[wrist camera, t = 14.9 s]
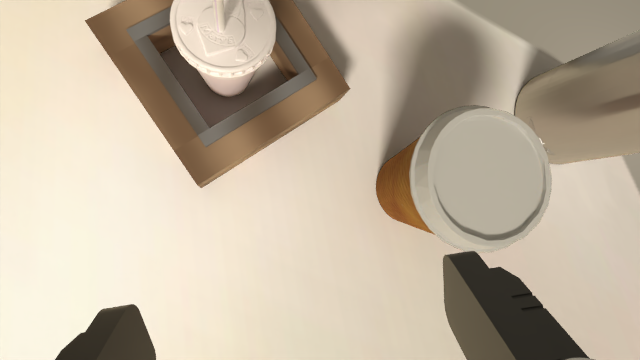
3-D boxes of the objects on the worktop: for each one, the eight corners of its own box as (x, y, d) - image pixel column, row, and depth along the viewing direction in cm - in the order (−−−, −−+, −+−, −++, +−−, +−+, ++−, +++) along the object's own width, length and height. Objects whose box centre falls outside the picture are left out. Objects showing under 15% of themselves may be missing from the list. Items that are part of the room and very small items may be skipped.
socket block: (250, -36, 35) (252, -65, 31) (339, 100, 35) (351, 87, 32) (101, 41, 32) (83, 18, 28) (201, 188, 32) (197, 185, 29)
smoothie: (173, 90, 33) (129, 2, 19) (208, 24, 34) (190, -105, 20) (246, 125, 34) (253, 66, 20) (278, 60, 35) (306, -39, 21)
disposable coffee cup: (459, 238, 37) (564, 250, 25) (360, 244, 35) (424, 260, 23) (453, 136, 38) (552, 101, 26) (355, 136, 36) (415, 98, 24)
